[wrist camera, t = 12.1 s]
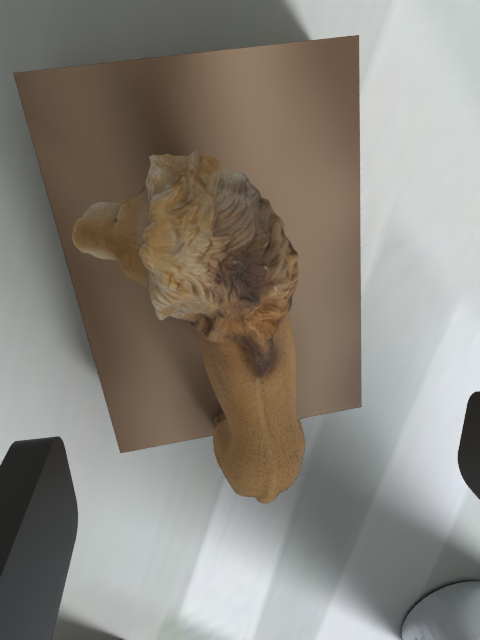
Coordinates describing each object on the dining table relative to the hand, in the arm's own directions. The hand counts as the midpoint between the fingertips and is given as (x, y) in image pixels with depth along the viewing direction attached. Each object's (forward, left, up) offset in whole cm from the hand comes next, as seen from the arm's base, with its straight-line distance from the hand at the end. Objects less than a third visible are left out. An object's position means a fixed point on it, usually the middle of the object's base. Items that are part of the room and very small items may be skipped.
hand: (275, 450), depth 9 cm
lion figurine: (0, +1, -11) cm, 11 cm away
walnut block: (0, 0, -16) cm, 16 cm away
